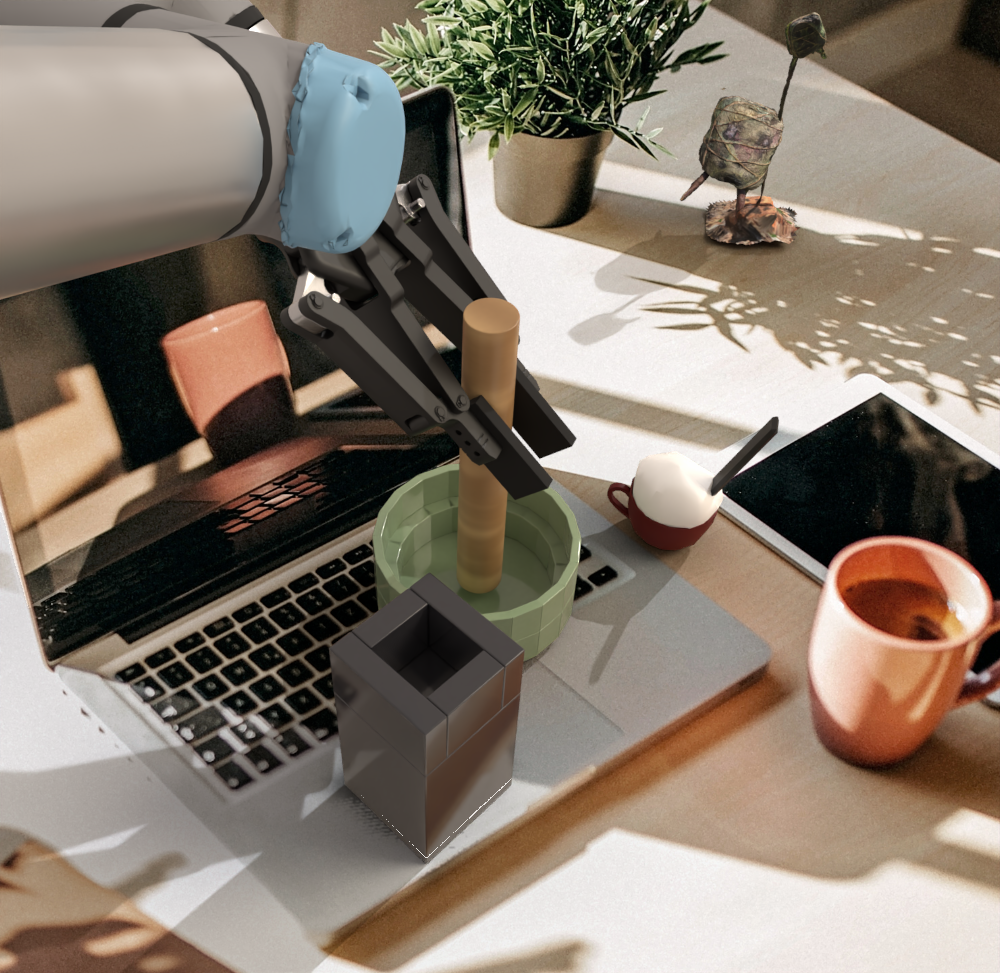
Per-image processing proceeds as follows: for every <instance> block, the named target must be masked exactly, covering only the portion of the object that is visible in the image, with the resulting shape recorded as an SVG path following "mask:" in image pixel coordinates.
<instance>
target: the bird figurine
mask: <svg viewBox="0 0 1000 973" xmlns="http://www.w3.org/2000/svg"><path fill="white" fill-rule="evenodd" d="M784 35H785V36H784V37H785V39H786V40H785V42H786V50H787V52H788V54H789V56H792V58H791V61H790V63H789V66H788V72H787V77H786V79H785V85H784V86H783V90H782V93H781V94H782V95H781V97H780V102H779V109H778V112H777V110H776V109H775V108H773V107H769V106H766V105H764V104H763V103H760V102H757V101H754V100H750V99H747V98H746V97H743V96H740V95H725V96H721V97H720V98H719V99H718V101H717V103H716V105H715V107H714V109H713V111H712V115H711V119H710V126H709V128H708V130H707V132H706V133H705V134H704V136H703V138H702V143H701V144H700V145H699V146H700V147H699V149H698V161H699V163H700V165H701V171H703V172H702V173H701V174H700V175H699V176H698V177H697V178H696V179H695V180H694V181H692V183H690V186H689V188H688V189H687V190H686V191H685V192H684V193H683V194H682V195H681V197H680V199H679V201H680V202H684V201H686V199H688V198H689V197H690V196H691V195H692V194H693V193H694V192H695V191H697V190H698V188H700V187H701V186H702V185H703V184H704V183H705V181H707V180H708V179H709V178H710V179H715V180H716V181H718V182H723V183H727V184H729V185H732V186H733V187H734V188H735V189H736V198H735V199H732V200H730V199H729V200H727V201H726V200H725V199H723V200H720V199H719V200H718V201H714V202H709V205H707V207H705V210H706V211H705V213H706V214H705V216H706V220H705V223H706V224H705V225H704V226H705V229H706V231H705V233H706V234H707V237H710V239H712V240H715V241H717V242H719V243H722V242H723V243H727V244H736V245H741V244H743V245H745V246H748V245H749V246H751V245H754V244H758V243H761V242H762V241H764V242H767V243H772V242H774V241H778V242H782V243H785V244H787V245H790V244H791V243H792V242H793V241H795V240H796V238H794V237H797V234H796V231H798V230H800V229H801V227H799V226H797V224H796V223H798V221H797V219H796V217H797V215H798V213H797V212H796V211H795V209H793V208H791V207H790V206H789V207H788V208H787V207H784V206H779V207H776V206H775V205H774V200H773V199H772V197H771V196H766V195H763V194H764V190H765V184H766V180H767V177H768V172H769V166H770V164H771V163H772V160H773V157H774V156H775V154H776V151H777V149H778V147H779V146H780V144H781V143H782V141H783V132H784V128H785V126H784V118H783V115H784V107H785V105H786V104H785V103H786V99H787V95H788V92H789V88H790V84H791V80H792V79H793V76H794V73H795V70H796V67H797V65H798V62H799V61H798V60H803V59H805V58H806V57H808V56H810V55H814V54H815V53H817V54H820V58H821V59H823V60H827V59H828V55H827V53H826V50H825V49H824V47H825V46H826V45H827V43H828V41H827V38H828V37H827V33H826V29H825V27H824V24H823V21H822V18H821V16H820V14H818V12H815V11H813V12H811V13H808V14H805V15H803V16H799V17H796V18H794V19H793V20H792V21H790V22H789V23H787V24H786V26H785V27H784ZM726 89H727V88H726V87H722V88H721V90H722V91H725V90H726ZM759 188H760V195H753V196H750V195H749V196H747V194H748V193H749V191H755V190H757V189H759Z"/></svg>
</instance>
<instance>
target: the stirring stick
mask: <svg viewBox="0 0 1000 973" xmlns="http://www.w3.org/2000/svg"><path fill="white" fill-rule="evenodd" d="M520 325H521V314H520V311H519V309H518V308H517V307H516V306H515V305H514V304H513V303H511V302H510V301H508V300H507V301H505V300H502V299H498V298H482V299H478V300H476V301H473V302H471V303H470V304H469V305H468V306H467V307H466V308H465V310H464V312H463V336H462V352H461V376H460V377H461V378H460V381H461V384H460V385H461V387H462V388H463V389H464V391H465V392H466V394H467V395H468V397H469V400H471V399H473V398H475V397H478V396H480V395H482V396H483V397H484V398H485V399H486V401H487V402H488V403H489V404H490V405H491V407H492V408H493V409H494V410H495V411H496V412H497V414H498V415H499V416H500V417H501V418H502V420H503V421H504V422H505V423H506V424H507V426H508V427H509V428H510V429H511V430H512V431H513V427H512V423H513V409H514V395H515V381H516V367H517V358H518V352H519V345H518V339H519V336H520ZM458 460H459V462H458V464H459V493H458V533H457V572H456V576H457V581H458V583H459V584H460V585H461V587H463V588H464V589H465V590H467V591H469V592H472V593H478V594H481V593H487V592H490V591H492V590H494V589H495V588H496V587H497V586H498V585H499V583H500V581H501V577H502V563H503V549H504V535H505V521H506V507H507V493H508V492H507V490H506V489H505V488H504V487H503V486H502V485H501V484H500V482H499V481H498V480H497V479H496V478H495V477H494V475H493V474H492V473H491V472H490V471H489V470H488V469H487V467H486V466H485V465H484V464H483V465H480V466H479V465H477V464H475V463H473V462H472V461H471V460H470V459H469V457H468V456H467V455H466V454H465V453H464V452H463V451H462V449H461V448H460V447H459V458H458Z"/></svg>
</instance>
